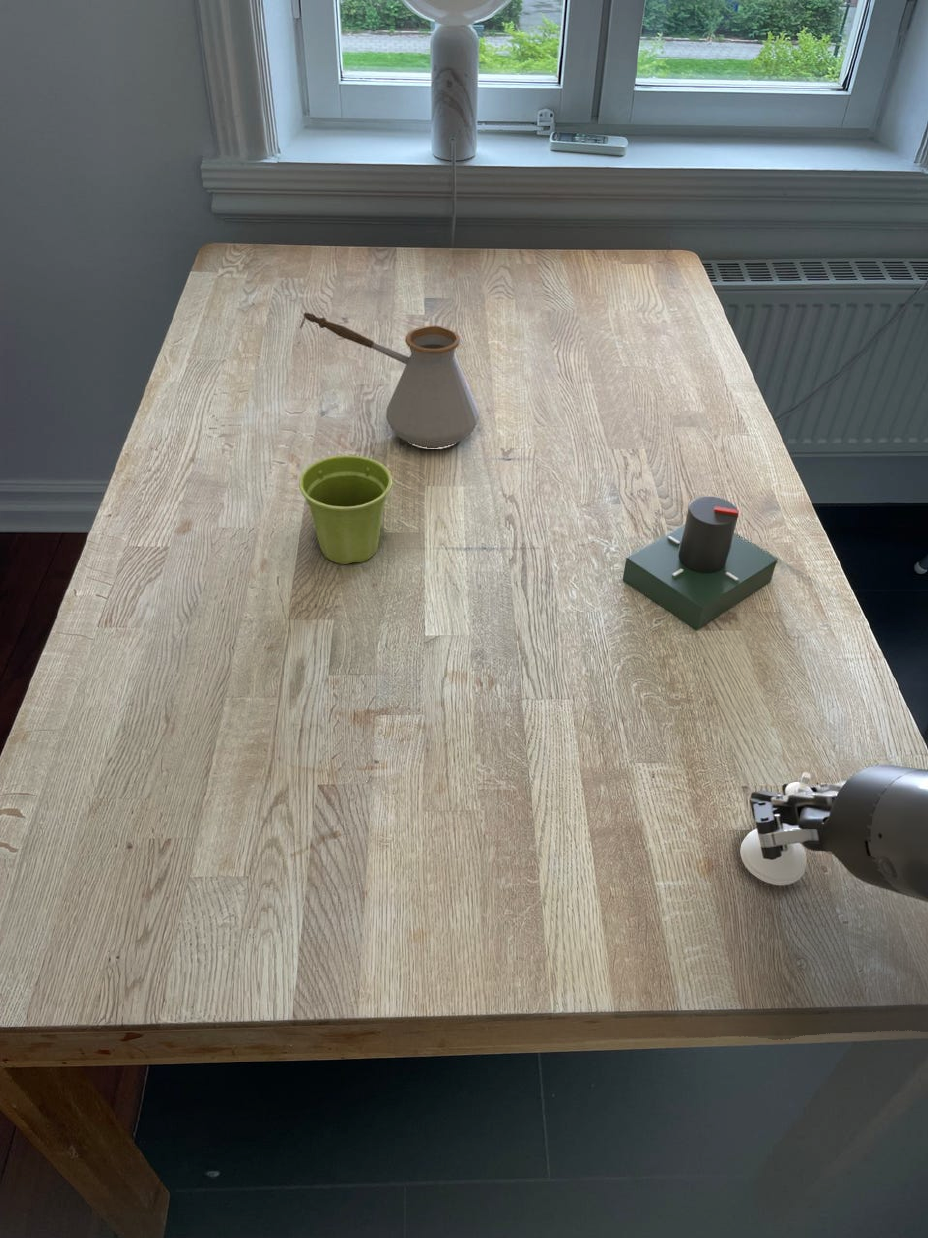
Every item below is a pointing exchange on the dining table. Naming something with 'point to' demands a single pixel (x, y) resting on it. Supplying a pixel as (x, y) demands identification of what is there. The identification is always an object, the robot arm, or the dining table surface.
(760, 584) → the panel
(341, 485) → the plant pot
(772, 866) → the chess piece
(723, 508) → the knob
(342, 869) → the dining table surface
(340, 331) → the coffee pot
